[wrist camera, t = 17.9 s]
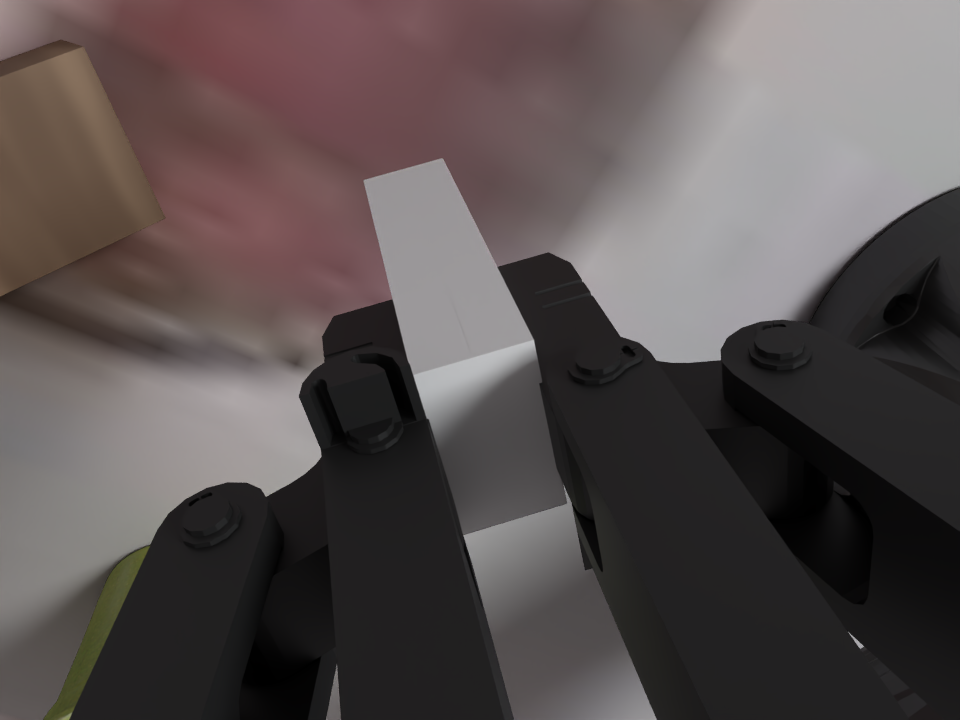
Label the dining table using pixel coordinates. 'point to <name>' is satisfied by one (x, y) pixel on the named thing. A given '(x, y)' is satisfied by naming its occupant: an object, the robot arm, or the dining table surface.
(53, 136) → the domino
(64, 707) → the plant pot
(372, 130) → the dining table surface
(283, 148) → the dining table surface
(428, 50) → the dining table surface
